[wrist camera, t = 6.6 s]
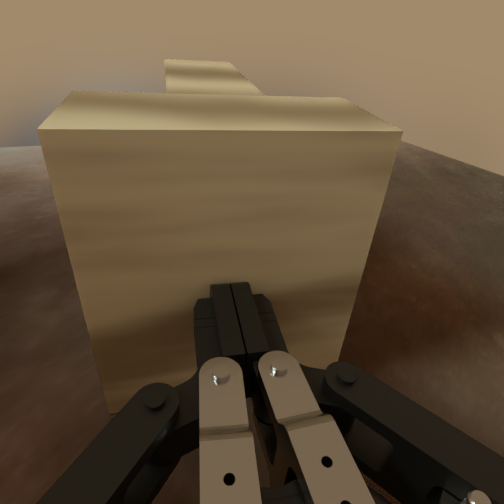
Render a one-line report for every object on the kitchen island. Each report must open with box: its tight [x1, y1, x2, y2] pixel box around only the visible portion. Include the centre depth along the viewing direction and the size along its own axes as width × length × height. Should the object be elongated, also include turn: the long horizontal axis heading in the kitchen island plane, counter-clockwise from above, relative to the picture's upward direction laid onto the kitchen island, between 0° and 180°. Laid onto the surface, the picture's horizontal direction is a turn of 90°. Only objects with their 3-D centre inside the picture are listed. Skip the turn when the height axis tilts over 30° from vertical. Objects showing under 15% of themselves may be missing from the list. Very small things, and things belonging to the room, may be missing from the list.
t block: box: [37, 59, 403, 414], centre depth 21 cm, size 15×11×13 cm
